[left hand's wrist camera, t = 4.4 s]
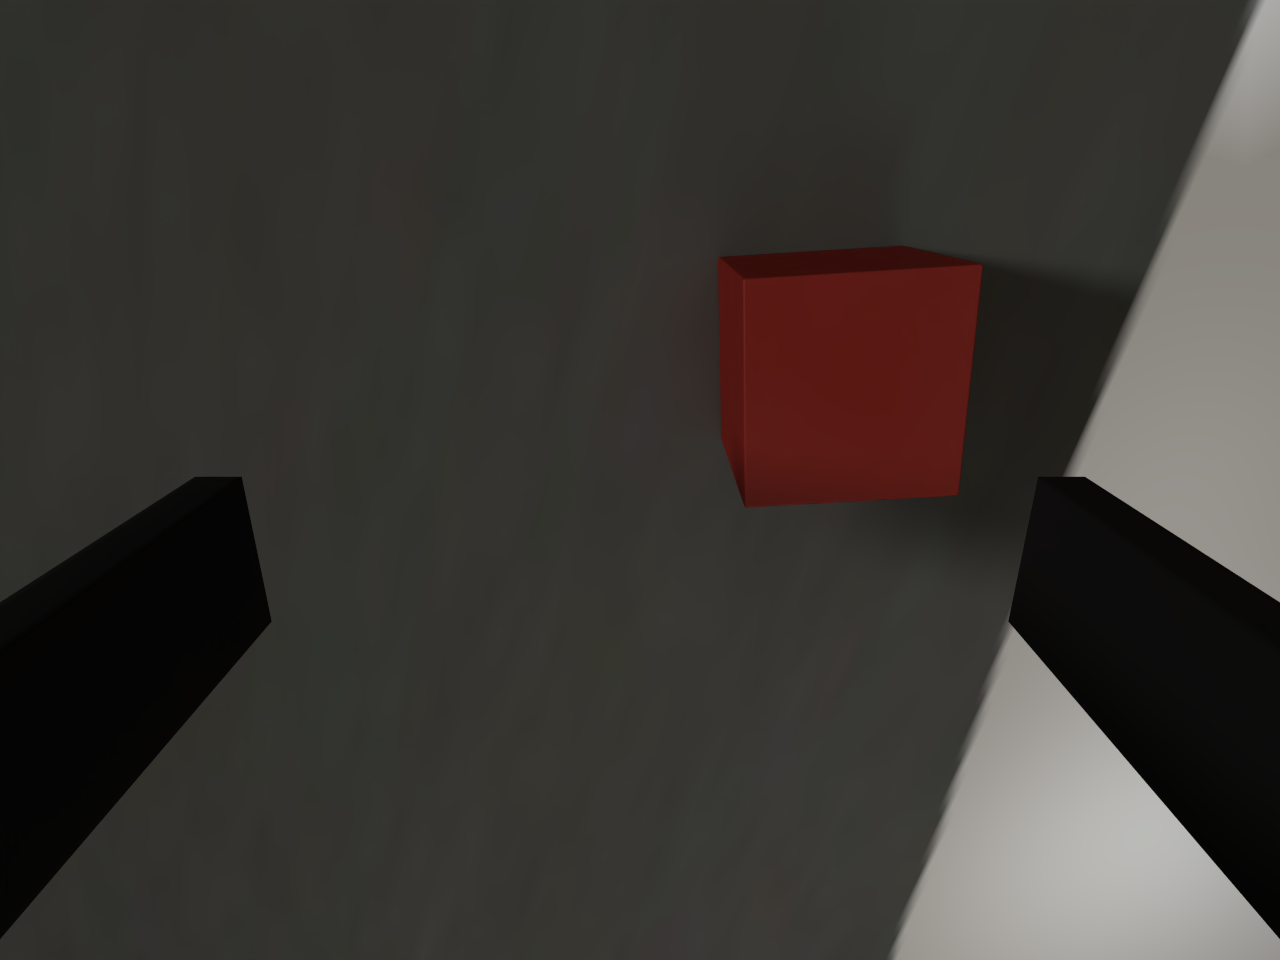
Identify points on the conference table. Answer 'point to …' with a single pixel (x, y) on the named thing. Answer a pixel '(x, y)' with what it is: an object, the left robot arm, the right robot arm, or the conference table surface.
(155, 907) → the conference table surface
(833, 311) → the brick
